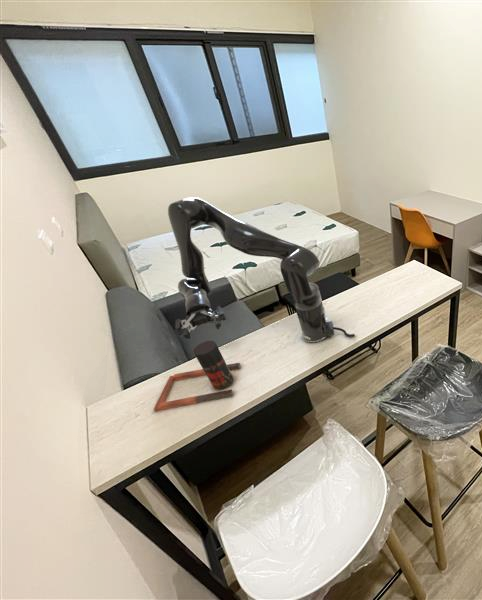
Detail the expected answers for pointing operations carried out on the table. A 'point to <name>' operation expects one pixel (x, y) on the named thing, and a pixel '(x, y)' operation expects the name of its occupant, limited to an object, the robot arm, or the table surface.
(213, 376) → the deodorant
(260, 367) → the table surface
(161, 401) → the brown angled rods
